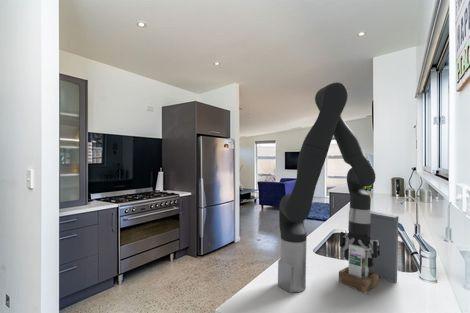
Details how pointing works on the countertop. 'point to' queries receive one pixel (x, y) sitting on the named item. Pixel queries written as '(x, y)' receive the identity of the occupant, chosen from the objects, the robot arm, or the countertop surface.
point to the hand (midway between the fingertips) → (358, 263)
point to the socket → (359, 280)
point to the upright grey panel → (385, 245)
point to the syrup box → (358, 261)
